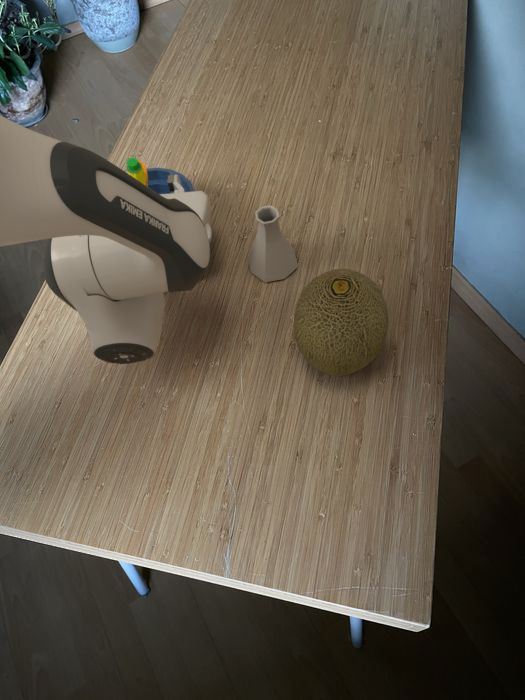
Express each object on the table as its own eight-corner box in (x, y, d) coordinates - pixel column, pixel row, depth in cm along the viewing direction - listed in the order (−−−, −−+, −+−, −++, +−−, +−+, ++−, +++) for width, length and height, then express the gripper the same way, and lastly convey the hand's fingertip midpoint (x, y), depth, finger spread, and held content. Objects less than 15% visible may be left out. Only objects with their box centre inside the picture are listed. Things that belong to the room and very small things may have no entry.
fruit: (299, 315, 80) (295, 242, 68) (383, 319, 79) (395, 245, 66) (292, 390, 75) (286, 325, 62) (382, 395, 73) (395, 330, 60)
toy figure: (140, 205, 93) (118, 143, 83) (163, 200, 93) (143, 138, 83) (143, 236, 89) (120, 176, 79) (166, 232, 89) (146, 171, 79)
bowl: (105, 261, 89) (95, 241, 85) (114, 193, 96) (106, 172, 92) (199, 253, 88) (193, 233, 84) (201, 185, 95) (196, 163, 91)
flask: (239, 256, 87) (230, 207, 78) (283, 236, 88) (278, 186, 79) (262, 290, 83) (255, 243, 75) (306, 269, 84) (305, 220, 76)
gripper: (207, 231, 75) (209, 157, 83) (51, 245, 77) (66, 170, 84) (215, 263, 81) (216, 190, 88) (69, 275, 82) (81, 202, 89)
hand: (142, 181), depth 86 cm, fingers open, 8 cm apart
